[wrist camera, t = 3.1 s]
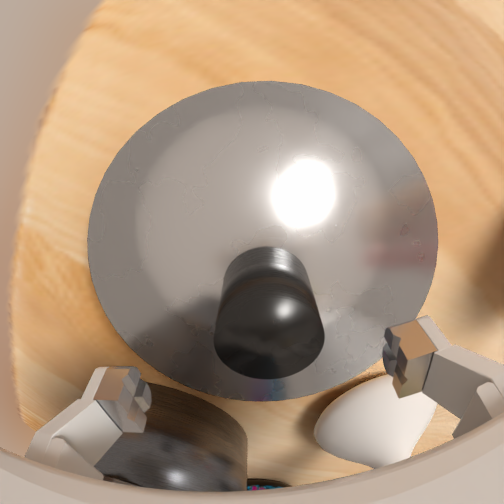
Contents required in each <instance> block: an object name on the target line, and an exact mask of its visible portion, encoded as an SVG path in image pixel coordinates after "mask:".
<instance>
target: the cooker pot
mask: <svg viewBox="0 0 504 504" xmlns="http://www.w3.org/2000/svg"><path fill="white" fill-rule="evenodd" d="M146 383H147V382H146ZM147 384H148V386H149V388H150V391H151V400H152V401H151V405H150V408H149V409H148V410H147V411H146V412H145V414H146V416H147V420H146V424H145V428H144V432H143V433H137V432H123V433H122V435H121V436H120V437H119V438H118V439H117V440H116V442H115V443H114V444H113V445H112V446H111V447H110V448H109V449H108V451H107V452H106V453H105V454H104V455H103V456H102V457H101V459H100V460H99V461H98V462H97V463H96V464H95V465H94V467H95V468H96V469H97V470H98V471H100V472H101V473H102V474H103V476H104V477H103V481H108V482H113V483H119V484H125V485H131V486H138V487H146V488H154V489H164V490H177V491H197V492H233V491H247V436H246V433H245V432H244V430H243V428H242V427H241V426H240V424H239V423H238V422H237V421H236V420H235V419H233V418H232V417H231V416H230V415H228V414H227V413H226V412H224V411H223V410H221V409H219V408H218V407H216V406H214V405H212V404H211V403H208V402H206V401H204V400H202V399H200V398H198V397H195V396H193V395H190V394H188V393H185V392H182V391H179V390H176V389H172V388H169V387H165V386H161V385H157V384H152V383H147ZM82 396H83V395H82ZM81 398H82V397H81Z"/></svg>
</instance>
